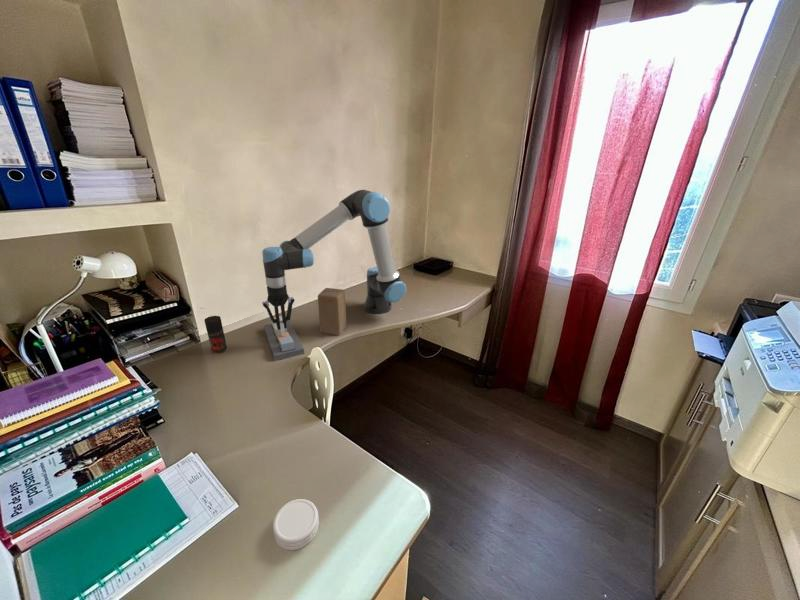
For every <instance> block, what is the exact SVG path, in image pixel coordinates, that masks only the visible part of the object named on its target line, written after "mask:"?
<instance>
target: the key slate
mask: <svg viewBox="0 0 800 600" xmlns="http://www.w3.org/2000/svg"><path fill="white" fill-rule="evenodd" d="M279 342H280V347H281V352H286V351H290V350H294V341H293V339H292V337H291V336H290V337H286V338H281V339H279Z"/></svg>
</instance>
